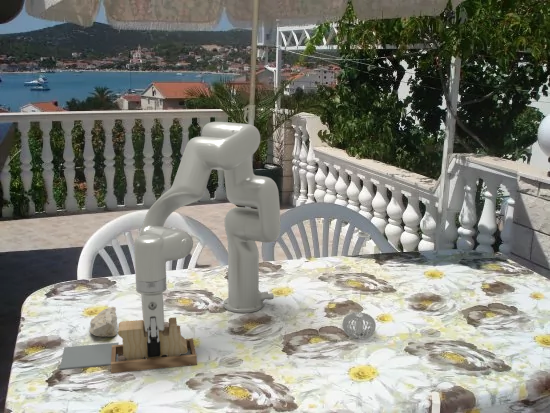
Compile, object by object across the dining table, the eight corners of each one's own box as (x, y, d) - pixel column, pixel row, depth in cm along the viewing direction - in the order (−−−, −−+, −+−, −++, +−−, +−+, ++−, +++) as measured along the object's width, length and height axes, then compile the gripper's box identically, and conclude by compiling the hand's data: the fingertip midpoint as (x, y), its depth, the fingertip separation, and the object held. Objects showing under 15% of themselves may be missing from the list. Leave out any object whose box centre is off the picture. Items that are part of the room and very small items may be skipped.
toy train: (187, 361, 159) (186, 325, 157) (119, 367, 156) (117, 330, 154) (186, 351, 164) (185, 316, 162) (120, 356, 161) (118, 321, 159)
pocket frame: (192, 346, 167) (192, 338, 167) (196, 364, 157) (196, 355, 157) (112, 353, 163) (111, 345, 162) (111, 372, 153) (110, 364, 152)
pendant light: (377, 331, 178) (383, 230, 172) (371, 344, 170) (377, 239, 163) (346, 326, 181) (350, 227, 175) (338, 339, 173) (342, 235, 166)
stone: (89, 349, 173) (87, 327, 167) (91, 314, 182) (89, 291, 176) (117, 348, 175) (116, 325, 168) (118, 313, 184) (117, 290, 177)
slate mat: (118, 343, 169) (118, 342, 168) (117, 364, 157) (117, 362, 157) (64, 348, 165) (64, 347, 165) (59, 369, 154) (59, 368, 154)
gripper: (168, 295, 148) (170, 364, 152) (164, 272, 164) (166, 335, 169) (136, 297, 147) (139, 367, 151) (135, 273, 163) (138, 337, 167)
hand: (153, 349), depth 160 cm, fingers closed on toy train, 5 cm apart
